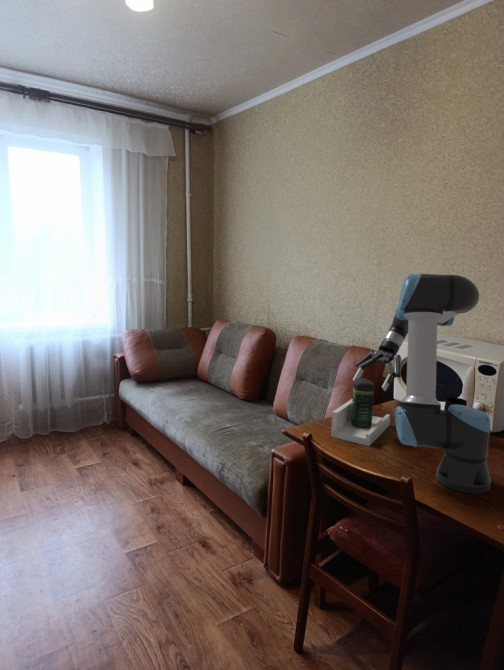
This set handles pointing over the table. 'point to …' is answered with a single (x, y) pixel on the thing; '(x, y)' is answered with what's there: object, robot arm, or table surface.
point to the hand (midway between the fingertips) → (368, 385)
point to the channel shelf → (348, 432)
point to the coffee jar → (362, 403)
